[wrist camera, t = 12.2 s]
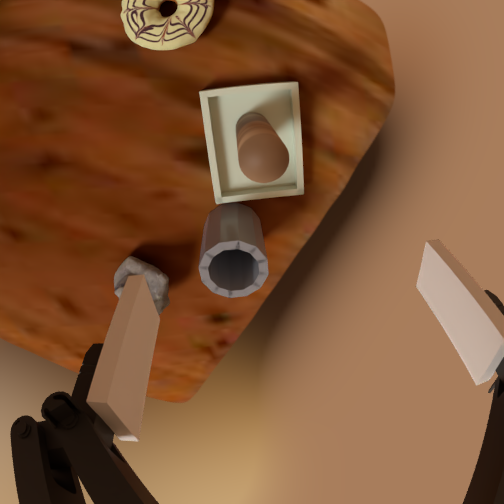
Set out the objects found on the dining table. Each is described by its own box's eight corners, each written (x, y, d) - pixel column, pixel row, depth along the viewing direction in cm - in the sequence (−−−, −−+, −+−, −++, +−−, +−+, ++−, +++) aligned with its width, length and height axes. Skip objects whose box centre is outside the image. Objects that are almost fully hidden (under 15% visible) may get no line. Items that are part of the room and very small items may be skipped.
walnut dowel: (233, 113, 36) (233, 119, 23) (267, 110, 36) (285, 114, 23) (238, 157, 38) (241, 187, 26) (271, 154, 38) (291, 181, 26)
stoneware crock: (200, 206, 43) (193, 245, 34) (258, 199, 43) (265, 237, 34) (209, 254, 47) (206, 300, 38) (262, 248, 47) (270, 293, 38)
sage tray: (201, 90, 35) (199, 91, 33) (293, 81, 35) (298, 82, 33) (216, 196, 42) (215, 204, 40) (300, 187, 42) (304, 194, 40)
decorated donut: (125, 53, 31) (114, 52, 28) (132, -24, 26) (123, -31, 23) (210, 51, 32) (208, 49, 29) (218, -28, 27) (217, -37, 24)
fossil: (138, 233, 44) (123, 265, 38) (190, 264, 48) (185, 299, 41) (108, 283, 49) (94, 316, 42) (156, 309, 52) (148, 344, 45)
